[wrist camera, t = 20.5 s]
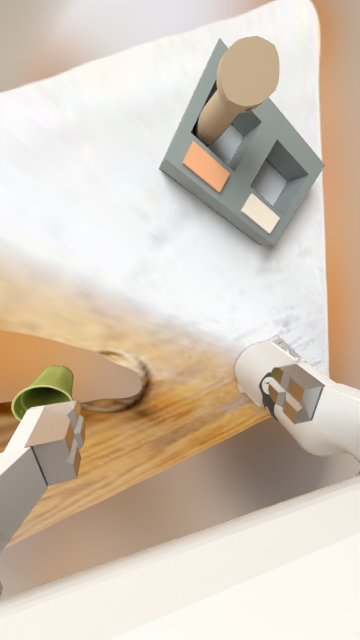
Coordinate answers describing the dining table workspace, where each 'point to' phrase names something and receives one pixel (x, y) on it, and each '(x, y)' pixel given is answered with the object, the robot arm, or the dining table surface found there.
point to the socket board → (243, 163)
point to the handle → (239, 86)
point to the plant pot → (45, 390)
